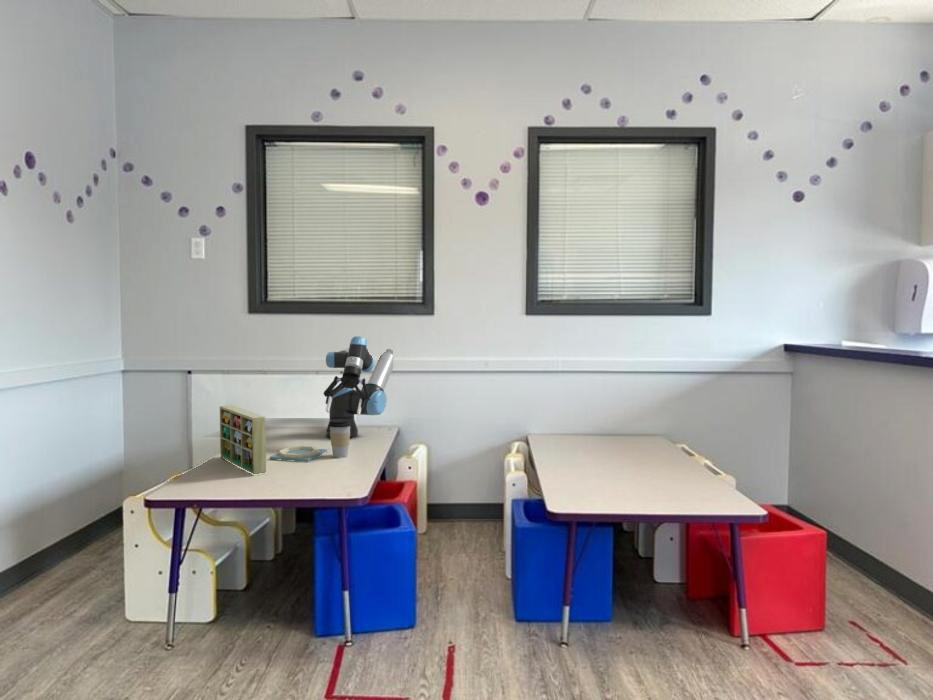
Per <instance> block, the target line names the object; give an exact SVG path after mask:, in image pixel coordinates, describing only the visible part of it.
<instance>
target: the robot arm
mask: <svg viewBox="0 0 933 700" xmlns="http://www.w3.org/2000/svg"><path fill="white" fill-rule="evenodd" d="M393 359H394V356H393V350H391V349H387V350H386V352H384V353H383V354H382V355H381V356H380V358H379V360H378V359H377V362H376V364H375V361H374V360H375V359H373V358H372V356H371V355H370V354H369V352H368V349H367V339H366V338H365V337H363V336H360V335H359V336H357V335H356V336H353V337H352V338H351V339H350V342H349V347H348V348H345V349H343V350H340V351H330V352H327V354H326V355H325V364H326V366H327V368H330V369H331V368H332V369H343V373H342V376H341V377H339V376H338V375H336V376H334V378H333V381H332V382H331V383H330V384H329V385H328V386H327V387H326V389H325V390H324V391H323V395H324V397H325V398H326V399H325V405H326V408H325V411H326V413H327V414H329V420H328V421H329V422H328V424H329V423H330V420H333V419H349V420H350V422H351V426H350V437H351V438H355V437H358V436H359V429H358V426H357V423H356V421H355V415H357V416H361V415H362V416H379V415H381V414H382V413H383V412H384V411H385V409H386V406H387V399H388V398H387V394H386V392H385V388H386V386H387V383H388V382H389V379H390V375H391V374H392V371H393V369H394V367H393V363H394V362H393ZM372 370H373V371H372ZM371 371H372V373H371V375H370V377H369V380H368V382H367V380H366V379H365V378H362V379H361V374H362V372H363V373H369V372H371ZM338 383H339V384H338ZM359 384H361V385H362V387H361V389H360V387H358V385H359ZM326 436H327V438H329V437H330V427H329V426H328V425H327V428H326V429H325V437H326ZM354 436H355V437H354Z"/></svg>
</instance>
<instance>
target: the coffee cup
mask: <svg viewBox="0 0 933 700" xmlns="http://www.w3.org/2000/svg"><path fill="white" fill-rule="evenodd" d="M329 420H330V419H329ZM328 426H329V427H330V444H331V450H332V457H333V456H334V457H333V458H335V457H344V458H346V457H345V456H347V455H348V456H349V447H350V439H351V438H350V426H351V422H350V420H349V419H333V420H330V423H329V422H328V424H327V427H328ZM348 456H347V457H348Z"/></svg>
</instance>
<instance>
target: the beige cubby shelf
mask: <svg viewBox="0 0 933 700" xmlns="http://www.w3.org/2000/svg"><path fill="white" fill-rule="evenodd" d="M219 444H220V445H219V447H220V448H219V449H220V458H221V457H222V458H224V459H226V460H228V461H230V462H231V463H233V464H235V465H237V466H239V467H241V468H243V469H245V470H247V471H249V472H251V473H253V474H259V473H265V472H266V473H267V457H266V456H267V453H266V452H267V450H266V446H267V445H266V444H267V443H266V417H265V416H263V415H260V414H259V413H255V412H253V411H250V410H246V409H244V408H241V407H238V406H235V405H232V404H229V405H226V404H225V405H220V406H219ZM222 458H221V459H222ZM231 463H230V464H231Z"/></svg>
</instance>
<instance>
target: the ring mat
mask: <svg viewBox="0 0 933 700" xmlns="http://www.w3.org/2000/svg"><path fill="white" fill-rule="evenodd" d="M325 452H326V453H327V452H328V449H327V448H319V447H316V446H311V445H296V446H295V445H294V446H289V447H285V448H283V449H280V450H278V452H277V453H275V454H273V455H270V456H269V460H270V459H281V460H294V461H293V462H299V461H306V462H305V463H309V462H311V461H313V460H315V459H317V458H319V457H321V456H322V454H323V453H324V454H326V453H325ZM324 454H323V455H324ZM320 455H321V456H320ZM318 456H319V457H318ZM316 457H317V458H316ZM281 460H280V461H281Z"/></svg>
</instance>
